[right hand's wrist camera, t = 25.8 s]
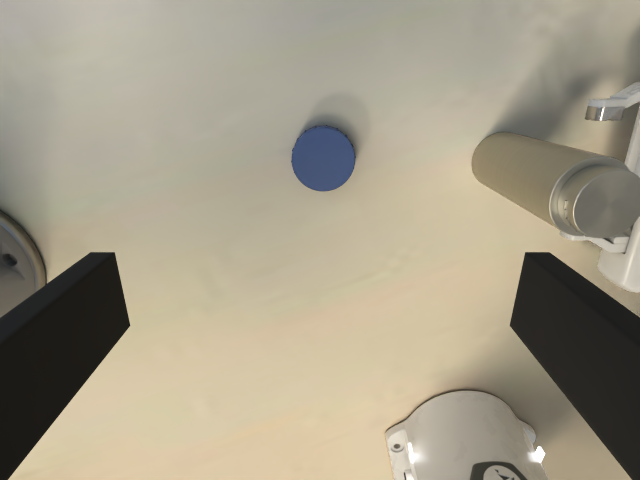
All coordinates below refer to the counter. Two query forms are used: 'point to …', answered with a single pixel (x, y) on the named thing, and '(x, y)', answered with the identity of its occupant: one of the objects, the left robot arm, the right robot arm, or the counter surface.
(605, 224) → the jar
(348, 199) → the counter surface
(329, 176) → the lid
